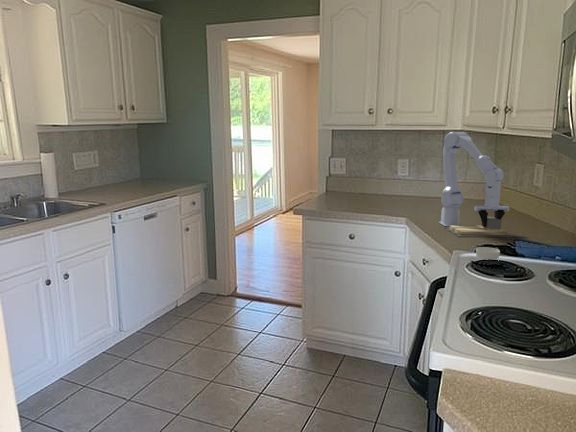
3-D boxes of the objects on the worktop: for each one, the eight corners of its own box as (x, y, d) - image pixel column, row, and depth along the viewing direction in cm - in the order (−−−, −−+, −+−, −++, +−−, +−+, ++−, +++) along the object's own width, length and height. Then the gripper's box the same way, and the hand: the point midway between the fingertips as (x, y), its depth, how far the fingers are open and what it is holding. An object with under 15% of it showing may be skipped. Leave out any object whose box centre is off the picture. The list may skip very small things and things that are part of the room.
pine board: (444, 228, 202) (444, 224, 202) (494, 228, 202) (494, 224, 202) (458, 236, 185) (458, 232, 184) (513, 237, 184) (513, 232, 184)
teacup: (509, 267, 142) (510, 253, 141) (479, 267, 142) (480, 253, 141) (493, 258, 152) (494, 245, 151) (465, 259, 151) (466, 246, 151)
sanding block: (481, 226, 196) (482, 216, 195) (491, 226, 196) (492, 216, 195) (490, 230, 188) (491, 220, 187) (500, 230, 188) (501, 220, 188)
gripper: (479, 197, 187) (477, 228, 189) (513, 197, 186) (510, 228, 189) (473, 195, 194) (470, 225, 196) (505, 195, 193) (503, 225, 196)
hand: (490, 226), depth 193 cm, fingers closed on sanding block, 5 cm apart
